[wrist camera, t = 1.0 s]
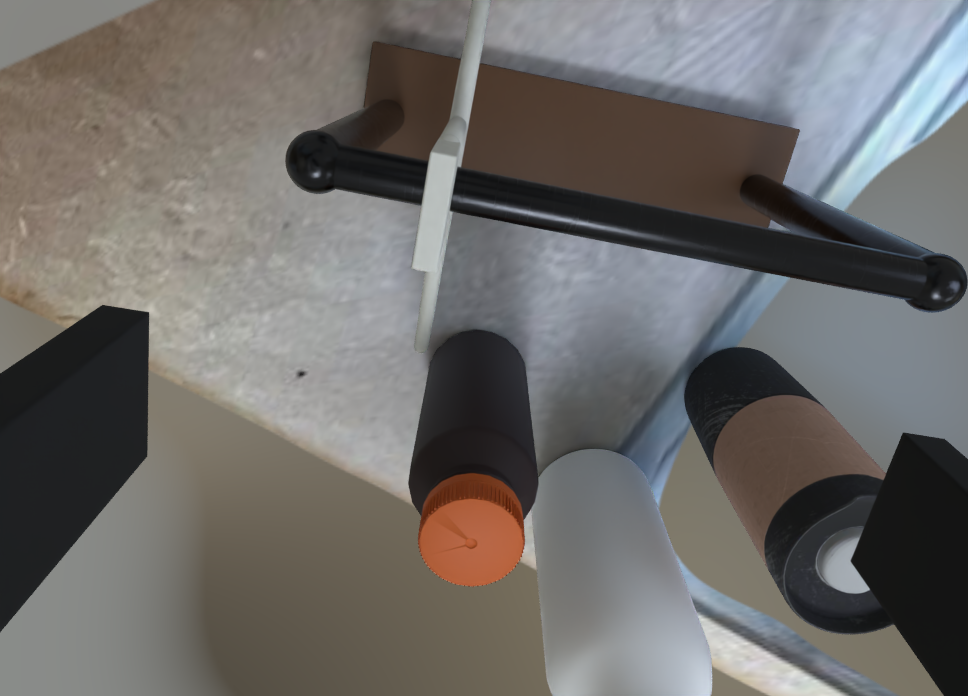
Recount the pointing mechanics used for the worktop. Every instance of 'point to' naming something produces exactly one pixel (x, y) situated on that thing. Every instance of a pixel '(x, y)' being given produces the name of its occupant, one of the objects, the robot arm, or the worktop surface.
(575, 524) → the alcohol
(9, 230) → the worktop surface
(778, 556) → the travel mug
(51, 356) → the robot arm
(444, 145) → the hanger
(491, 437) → the bottle
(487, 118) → the rail
